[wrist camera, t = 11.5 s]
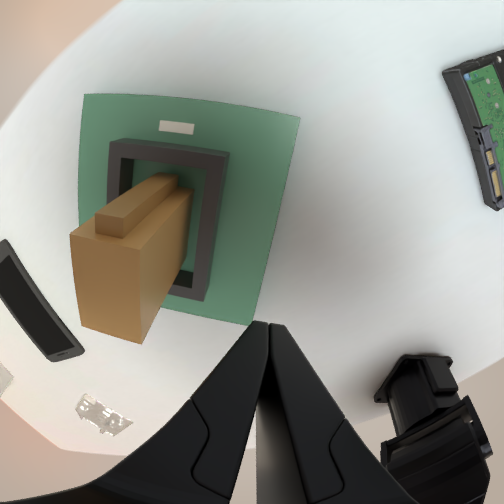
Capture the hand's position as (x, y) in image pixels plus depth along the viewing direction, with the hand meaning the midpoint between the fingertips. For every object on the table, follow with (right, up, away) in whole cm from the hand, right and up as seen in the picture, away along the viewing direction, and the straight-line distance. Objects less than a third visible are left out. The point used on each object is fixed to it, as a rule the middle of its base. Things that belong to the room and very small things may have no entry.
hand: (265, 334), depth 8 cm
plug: (-6, +4, +10) cm, 12 cm away
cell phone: (-23, -3, +17) cm, 29 cm away
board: (-5, +5, +11) cm, 13 cm away
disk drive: (+20, +13, +6) cm, 25 cm away
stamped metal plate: (-20, -19, +25) cm, 37 cm away
